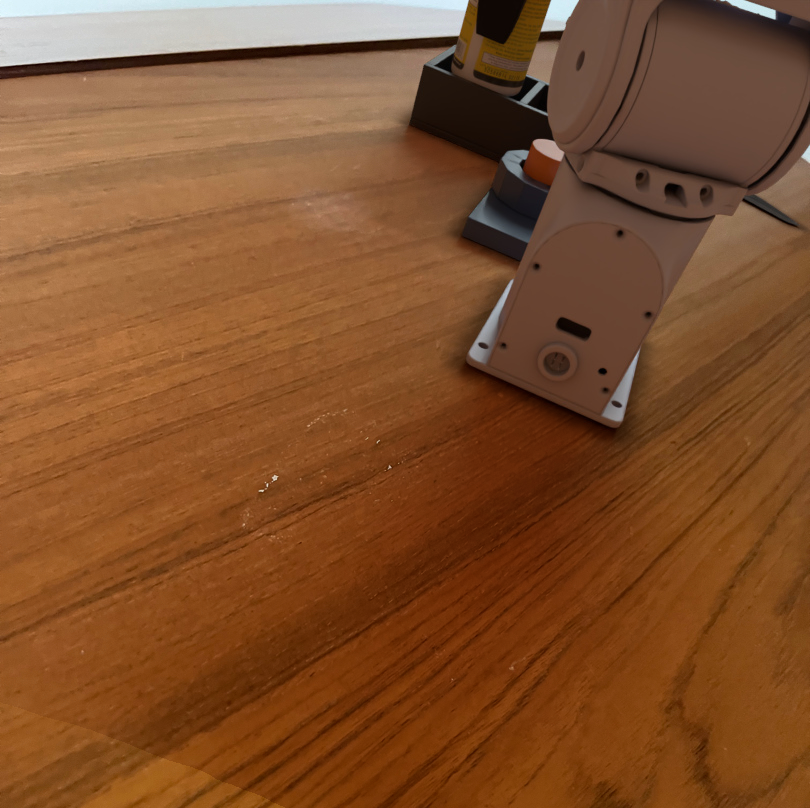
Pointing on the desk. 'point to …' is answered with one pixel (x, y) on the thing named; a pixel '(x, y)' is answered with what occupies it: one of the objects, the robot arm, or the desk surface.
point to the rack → (479, 111)
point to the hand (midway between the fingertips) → (501, 30)
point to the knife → (769, 208)
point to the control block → (508, 208)
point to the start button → (543, 161)
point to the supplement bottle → (499, 50)
